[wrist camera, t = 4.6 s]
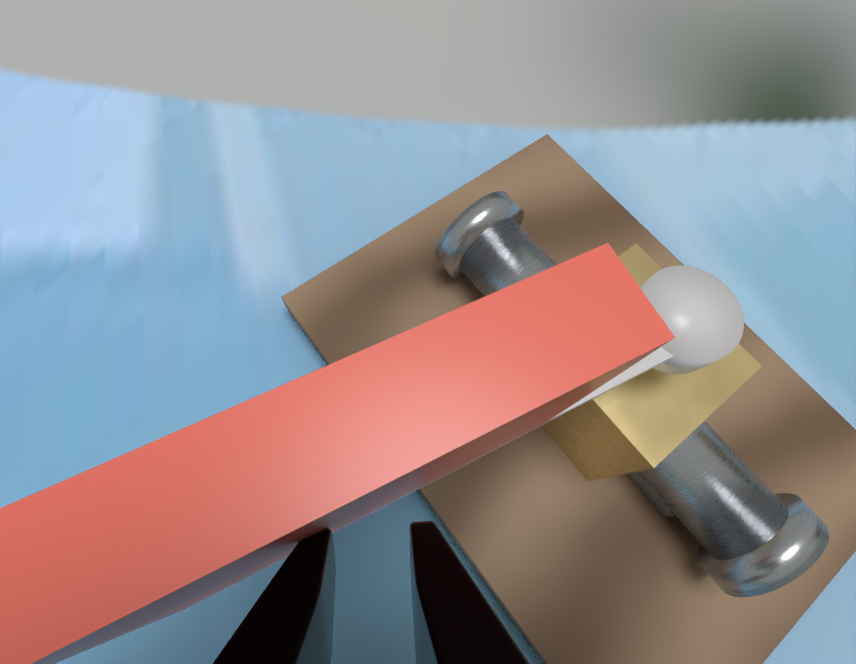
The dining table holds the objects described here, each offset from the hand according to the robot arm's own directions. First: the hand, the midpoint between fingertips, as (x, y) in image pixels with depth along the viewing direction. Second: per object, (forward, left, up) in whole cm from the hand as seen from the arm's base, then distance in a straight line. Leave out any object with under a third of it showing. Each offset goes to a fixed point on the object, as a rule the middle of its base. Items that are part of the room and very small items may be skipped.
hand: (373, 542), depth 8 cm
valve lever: (+4, 0, -3) cm, 5 cm away
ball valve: (+9, -3, -10) cm, 14 cm away
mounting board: (+9, -3, -12) cm, 15 cm away
